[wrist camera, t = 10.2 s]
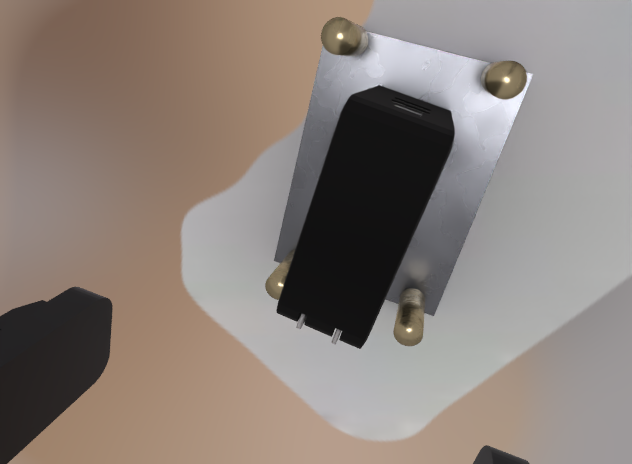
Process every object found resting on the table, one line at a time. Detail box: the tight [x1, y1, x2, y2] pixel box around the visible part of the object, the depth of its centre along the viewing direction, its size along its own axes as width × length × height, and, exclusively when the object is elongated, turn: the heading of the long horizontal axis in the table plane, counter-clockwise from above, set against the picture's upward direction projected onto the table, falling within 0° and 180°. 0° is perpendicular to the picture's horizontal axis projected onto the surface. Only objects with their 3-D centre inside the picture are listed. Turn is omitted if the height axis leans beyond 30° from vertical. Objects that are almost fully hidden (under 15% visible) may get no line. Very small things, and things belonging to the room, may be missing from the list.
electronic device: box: [277, 85, 455, 349], centre depth 22 cm, size 4×10×10 cm, turn 162°
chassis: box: [265, 17, 533, 346], centre depth 25 cm, size 15×11×5 cm
